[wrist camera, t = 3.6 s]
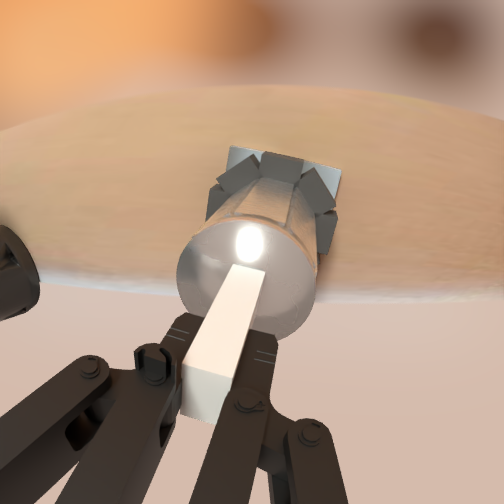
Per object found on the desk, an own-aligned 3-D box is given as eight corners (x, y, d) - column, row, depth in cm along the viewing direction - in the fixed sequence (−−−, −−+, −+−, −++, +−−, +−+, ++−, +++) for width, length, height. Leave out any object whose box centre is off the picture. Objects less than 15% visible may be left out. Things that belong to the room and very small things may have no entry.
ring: (207, 253, 28) (200, 263, 27) (223, 143, 24) (216, 145, 22) (315, 279, 28) (315, 291, 26) (346, 170, 23) (349, 174, 22)
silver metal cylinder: (220, 251, 26) (173, 325, 17) (233, 169, 23) (182, 207, 14) (301, 270, 25) (294, 356, 16) (323, 189, 22) (333, 242, 13)
